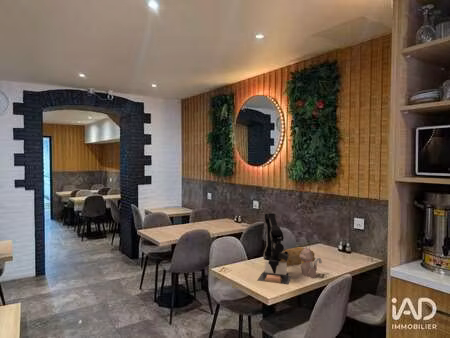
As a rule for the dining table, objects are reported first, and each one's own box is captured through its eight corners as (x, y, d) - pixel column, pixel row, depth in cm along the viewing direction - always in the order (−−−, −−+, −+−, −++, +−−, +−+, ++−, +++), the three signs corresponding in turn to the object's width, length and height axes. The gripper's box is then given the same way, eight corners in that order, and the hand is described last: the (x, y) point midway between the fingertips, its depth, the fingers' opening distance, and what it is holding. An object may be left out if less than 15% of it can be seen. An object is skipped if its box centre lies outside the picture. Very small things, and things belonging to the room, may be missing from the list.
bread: (307, 256, 257) (307, 244, 257) (317, 260, 248) (317, 247, 248) (273, 263, 239) (273, 250, 238) (283, 267, 229) (283, 254, 229)
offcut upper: (266, 276, 203) (266, 274, 203) (280, 277, 202) (280, 275, 202) (266, 279, 198) (266, 277, 198) (280, 280, 197) (280, 278, 197)
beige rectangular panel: (265, 274, 211) (265, 260, 211) (286, 277, 206) (286, 262, 206) (264, 275, 209) (265, 261, 209) (286, 278, 204) (286, 263, 204)
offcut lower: (266, 278, 205) (266, 276, 204) (281, 280, 201) (282, 278, 201) (264, 281, 199) (264, 279, 199) (280, 283, 196) (280, 281, 196)
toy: (296, 275, 214) (296, 246, 213) (316, 271, 222) (316, 243, 221) (305, 279, 206) (305, 249, 205) (325, 275, 214) (326, 246, 213)
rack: (262, 273, 216) (262, 268, 216) (291, 277, 209) (291, 272, 209) (257, 282, 201) (257, 276, 200) (288, 286, 194) (288, 280, 194)
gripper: (286, 253, 196) (285, 277, 196) (290, 245, 213) (289, 268, 214) (268, 251, 199) (268, 275, 200) (273, 244, 217) (273, 266, 217)
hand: (275, 271), depth 208 cm, fingers open, 7 cm apart
